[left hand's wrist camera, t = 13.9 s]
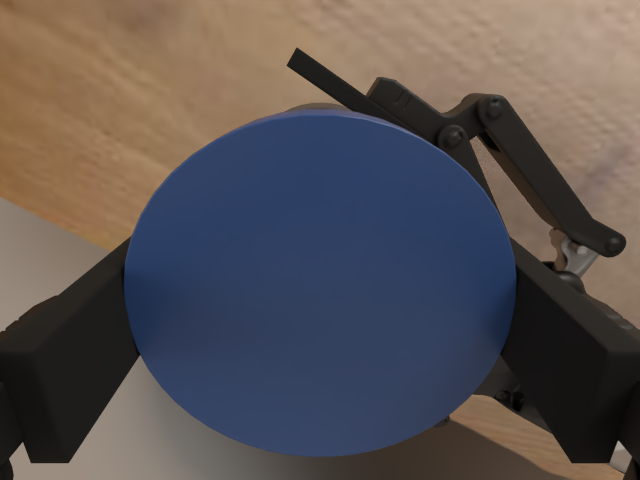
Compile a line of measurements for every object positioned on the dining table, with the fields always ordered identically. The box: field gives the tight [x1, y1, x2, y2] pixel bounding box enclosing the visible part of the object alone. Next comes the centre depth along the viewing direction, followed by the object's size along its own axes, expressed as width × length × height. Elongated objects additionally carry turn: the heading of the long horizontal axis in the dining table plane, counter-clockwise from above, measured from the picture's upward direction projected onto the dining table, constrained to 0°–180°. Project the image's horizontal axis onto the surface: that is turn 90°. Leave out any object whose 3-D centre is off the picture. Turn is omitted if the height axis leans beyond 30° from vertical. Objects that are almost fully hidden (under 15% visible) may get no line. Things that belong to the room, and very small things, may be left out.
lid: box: [123, 109, 517, 457], centre depth 11 cm, size 10×10×2 cm
